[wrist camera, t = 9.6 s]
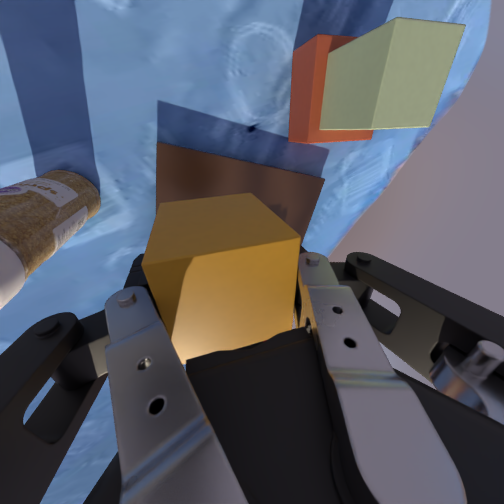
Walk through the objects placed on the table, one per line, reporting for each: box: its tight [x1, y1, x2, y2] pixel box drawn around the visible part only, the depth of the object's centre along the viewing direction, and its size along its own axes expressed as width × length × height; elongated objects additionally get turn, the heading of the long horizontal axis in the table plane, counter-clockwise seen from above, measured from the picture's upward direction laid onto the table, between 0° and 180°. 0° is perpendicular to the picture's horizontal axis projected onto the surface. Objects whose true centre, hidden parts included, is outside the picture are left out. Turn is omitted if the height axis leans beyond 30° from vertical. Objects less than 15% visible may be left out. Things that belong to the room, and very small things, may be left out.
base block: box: [288, 34, 373, 144], centre depth 19 cm, size 7×7×4 cm
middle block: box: [319, 17, 466, 130], centre depth 15 cm, size 5×5×6 cm
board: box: [156, 142, 325, 245], centre depth 24 cm, size 18×14×1 cm
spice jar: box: [0, 170, 101, 309], centre depth 13 cm, size 5×5×13 cm
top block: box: [141, 193, 301, 365], centre depth 10 cm, size 5×5×6 cm
